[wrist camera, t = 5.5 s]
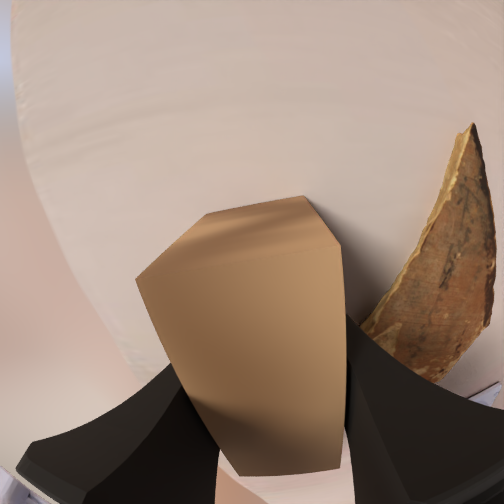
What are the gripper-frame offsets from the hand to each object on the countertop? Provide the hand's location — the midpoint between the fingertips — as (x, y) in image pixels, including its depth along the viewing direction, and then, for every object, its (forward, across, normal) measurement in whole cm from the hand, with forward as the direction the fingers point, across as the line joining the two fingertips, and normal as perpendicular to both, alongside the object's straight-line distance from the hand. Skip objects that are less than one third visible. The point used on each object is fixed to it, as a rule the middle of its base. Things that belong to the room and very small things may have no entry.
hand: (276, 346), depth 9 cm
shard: (+3, -7, 0) cm, 7 cm away
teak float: (+2, 0, 0) cm, 2 cm away
